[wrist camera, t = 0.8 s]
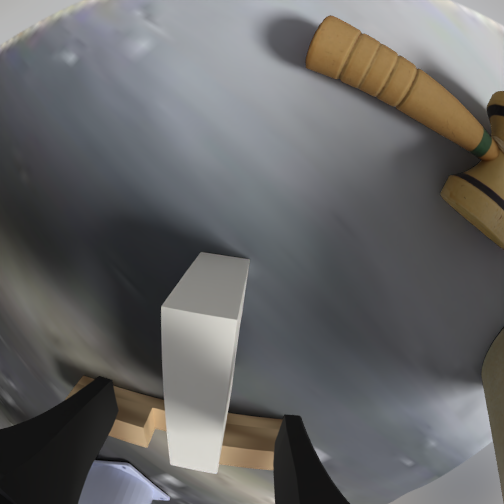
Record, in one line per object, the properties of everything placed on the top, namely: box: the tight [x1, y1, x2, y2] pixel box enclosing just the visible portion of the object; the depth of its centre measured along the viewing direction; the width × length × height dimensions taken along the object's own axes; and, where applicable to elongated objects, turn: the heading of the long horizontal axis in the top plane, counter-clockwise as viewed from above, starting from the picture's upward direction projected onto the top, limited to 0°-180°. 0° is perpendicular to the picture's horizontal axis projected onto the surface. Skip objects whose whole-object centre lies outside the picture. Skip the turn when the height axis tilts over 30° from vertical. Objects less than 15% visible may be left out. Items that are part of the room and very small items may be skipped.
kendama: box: [306, 16, 504, 250], centre depth 10 cm, size 8×6×18 cm
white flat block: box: [161, 252, 250, 474], centre depth 14 cm, size 2×10×6 cm, turn 172°
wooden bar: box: [65, 375, 283, 470], centre depth 17 cm, size 16×2×3 cm, turn 82°
